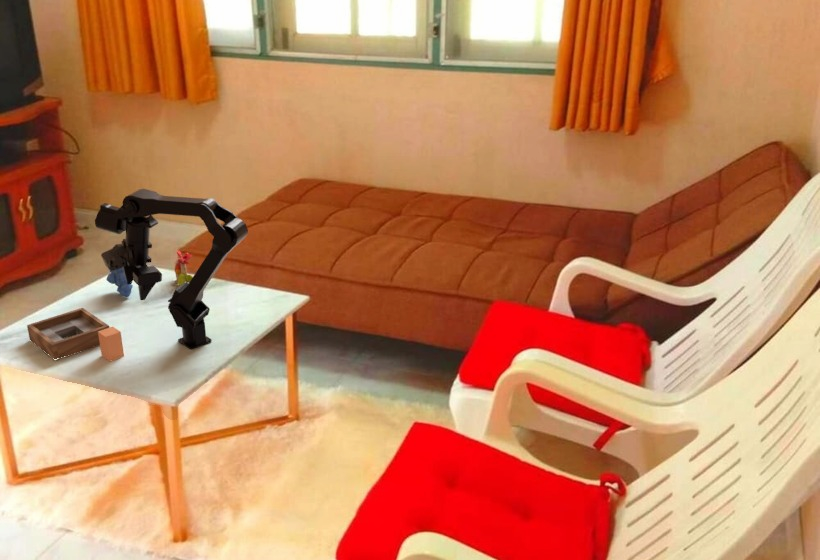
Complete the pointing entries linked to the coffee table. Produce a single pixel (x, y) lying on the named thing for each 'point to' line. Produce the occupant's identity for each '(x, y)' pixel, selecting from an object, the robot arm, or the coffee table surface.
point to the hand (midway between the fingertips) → (135, 291)
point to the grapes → (120, 282)
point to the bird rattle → (182, 268)
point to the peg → (111, 343)
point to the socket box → (67, 333)
